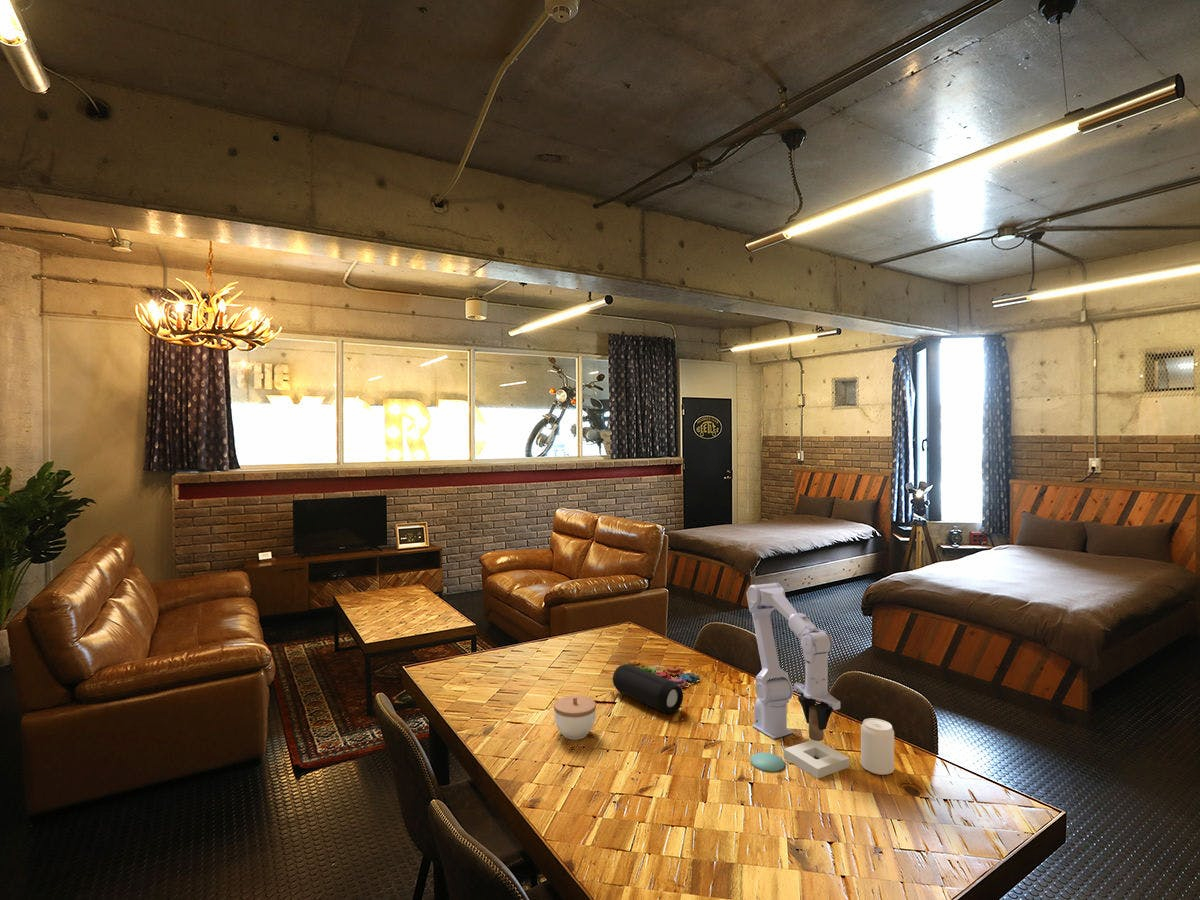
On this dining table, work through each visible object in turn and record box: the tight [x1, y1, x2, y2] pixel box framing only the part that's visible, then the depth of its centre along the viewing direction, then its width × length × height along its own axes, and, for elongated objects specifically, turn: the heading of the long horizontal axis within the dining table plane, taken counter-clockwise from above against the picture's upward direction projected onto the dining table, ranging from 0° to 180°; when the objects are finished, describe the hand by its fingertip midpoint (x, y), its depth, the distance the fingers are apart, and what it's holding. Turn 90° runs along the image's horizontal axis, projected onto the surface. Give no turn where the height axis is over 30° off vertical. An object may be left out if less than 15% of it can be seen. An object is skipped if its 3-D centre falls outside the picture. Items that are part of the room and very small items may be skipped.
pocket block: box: [783, 739, 850, 780], centre depth 168 cm, size 12×12×2 cm
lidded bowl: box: [553, 695, 597, 741], centre depth 184 cm, size 13×13×11 cm
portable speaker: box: [612, 664, 684, 714], centre depth 207 cm, size 26×10×10 cm, turn 41°
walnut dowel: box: [808, 706, 825, 742], centre depth 168 cm, size 4×4×8 cm
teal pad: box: [750, 752, 786, 773], centre depth 168 cm, size 9×9×1 cm
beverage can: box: [860, 717, 895, 776], centre depth 165 cm, size 8×8×12 cm
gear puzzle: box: [623, 659, 701, 689], centre depth 232 cm, size 31×16×4 cm, turn 45°
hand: (816, 725), depth 168 cm, fingers closed on walnut dowel, 4 cm apart
